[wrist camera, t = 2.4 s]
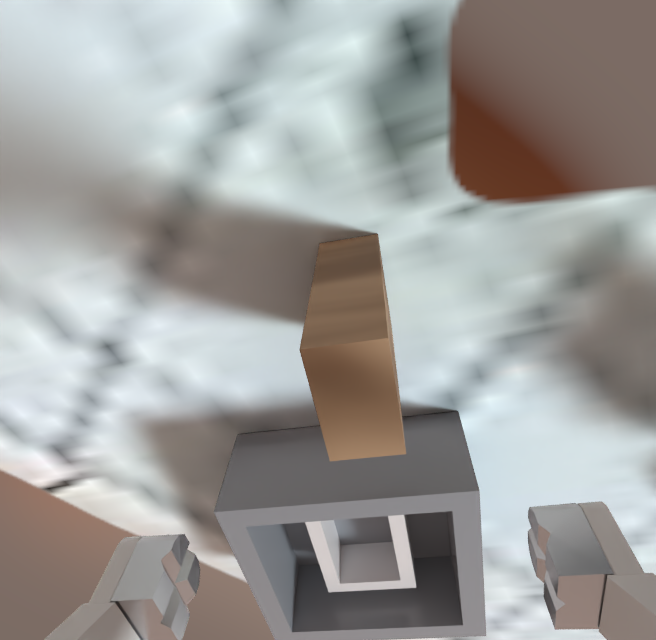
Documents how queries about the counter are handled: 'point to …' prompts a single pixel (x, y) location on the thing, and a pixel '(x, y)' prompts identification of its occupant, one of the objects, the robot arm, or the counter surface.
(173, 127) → the counter surface
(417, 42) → the counter surface
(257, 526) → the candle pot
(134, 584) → the robot arm
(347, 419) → the tan wooden brick
